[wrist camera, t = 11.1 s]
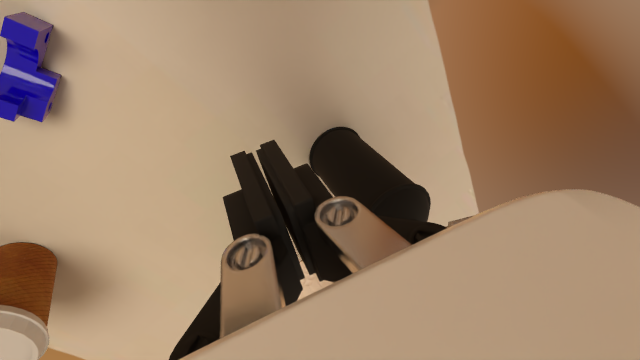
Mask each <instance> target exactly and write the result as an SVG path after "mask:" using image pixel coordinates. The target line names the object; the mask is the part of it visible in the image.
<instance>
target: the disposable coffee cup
mask: <svg viewBox="0 0 640 360" xmlns="http://www.w3.org/2000/svg"><path fill="white" fill-rule="evenodd" d="M56 268H57V259H56V257H55V255H54V254H53V253H52V252H51V251H49V250H48V249H46V248H44V247H42V246H39V245H36V244H32V243H11V244H7V245H4V246H1V247H0V360H38V359H40V358H41V357H42V356H43V355H44V353H45V352H46V350H47V348H48V345H49V334H48V329H47V327H46V326H47V324H48V322H47V321H48V316H49V311H50V305H51V299H52V293H53V287H54V280H55V275H56Z"/></svg>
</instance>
